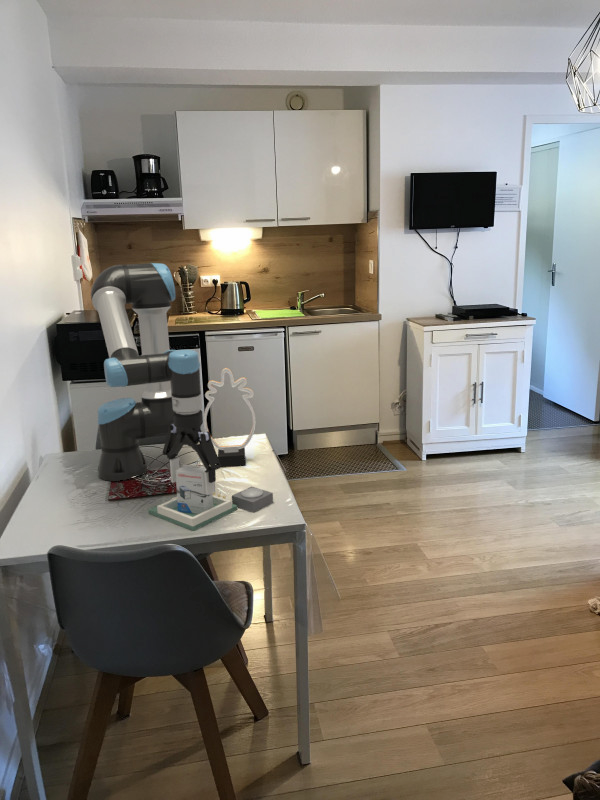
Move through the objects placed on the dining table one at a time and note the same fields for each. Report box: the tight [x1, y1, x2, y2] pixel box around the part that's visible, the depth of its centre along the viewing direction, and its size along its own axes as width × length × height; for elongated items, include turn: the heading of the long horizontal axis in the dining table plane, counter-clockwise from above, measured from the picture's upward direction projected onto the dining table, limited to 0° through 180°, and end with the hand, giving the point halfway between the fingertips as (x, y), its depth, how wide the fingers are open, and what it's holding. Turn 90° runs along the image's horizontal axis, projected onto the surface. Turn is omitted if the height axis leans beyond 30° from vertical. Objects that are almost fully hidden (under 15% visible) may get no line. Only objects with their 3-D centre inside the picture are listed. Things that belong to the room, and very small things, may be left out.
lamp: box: [203, 367, 257, 469], centre depth 209 cm, size 17×9×32 cm, turn 96°
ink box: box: [175, 464, 213, 514], centre depth 172 cm, size 9×5×12 cm, turn 72°
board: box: [147, 492, 238, 532], centre depth 175 cm, size 18×16×3 cm
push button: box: [231, 486, 274, 514], centre depth 179 cm, size 8×8×4 cm
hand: (192, 487), depth 172 cm, fingers open, 13 cm apart
